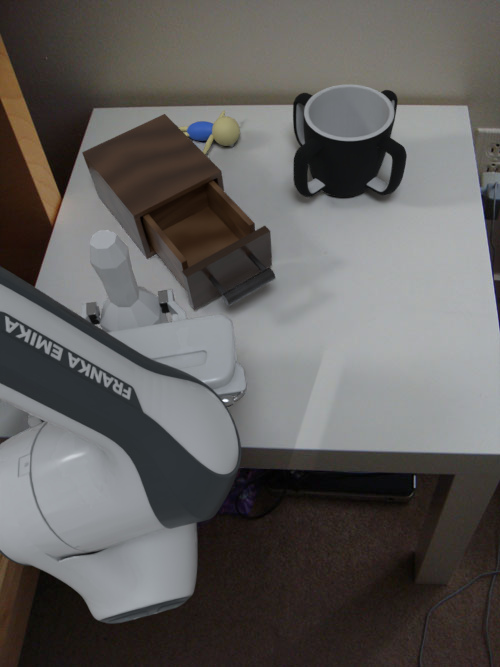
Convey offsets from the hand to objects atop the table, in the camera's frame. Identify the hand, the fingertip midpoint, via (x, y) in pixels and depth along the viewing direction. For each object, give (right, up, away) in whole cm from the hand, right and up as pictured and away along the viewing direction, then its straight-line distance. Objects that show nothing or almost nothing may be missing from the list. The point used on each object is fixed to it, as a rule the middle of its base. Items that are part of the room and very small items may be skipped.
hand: (128, 299), depth 61 cm
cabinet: (-1, +16, +29) cm, 33 cm away
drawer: (+8, +6, +21) cm, 23 cm away
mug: (+27, +20, +30) cm, 45 cm away
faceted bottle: (+1, -7, +10) cm, 12 cm away
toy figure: (+5, +27, +37) cm, 46 cm away
